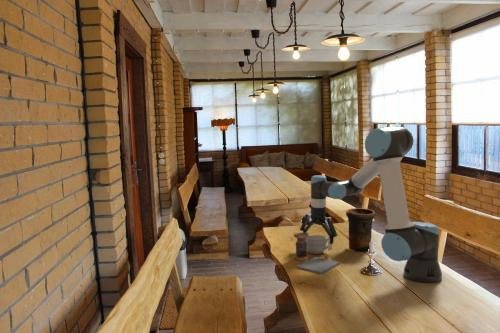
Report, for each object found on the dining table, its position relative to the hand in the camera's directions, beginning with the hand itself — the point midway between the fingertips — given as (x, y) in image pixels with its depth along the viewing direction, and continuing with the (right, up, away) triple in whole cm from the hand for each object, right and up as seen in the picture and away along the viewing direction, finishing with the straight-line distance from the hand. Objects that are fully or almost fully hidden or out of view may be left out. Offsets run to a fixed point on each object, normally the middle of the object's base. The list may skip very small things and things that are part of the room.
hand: (318, 247), depth 216 cm
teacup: (0, -3, 0) cm, 3 cm away
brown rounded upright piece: (-10, -4, -9) cm, 13 cm away
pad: (-3, -5, -19) cm, 20 cm away
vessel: (+23, -2, +5) cm, 23 cm away
